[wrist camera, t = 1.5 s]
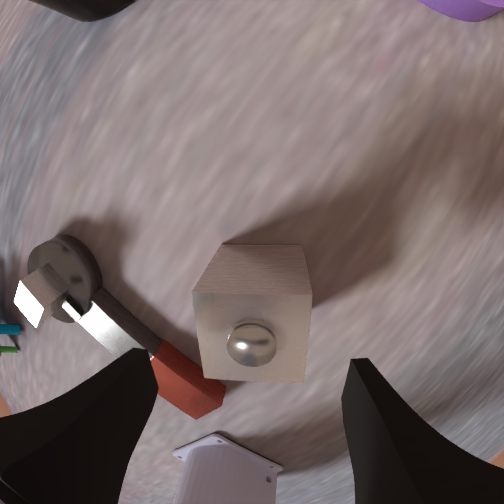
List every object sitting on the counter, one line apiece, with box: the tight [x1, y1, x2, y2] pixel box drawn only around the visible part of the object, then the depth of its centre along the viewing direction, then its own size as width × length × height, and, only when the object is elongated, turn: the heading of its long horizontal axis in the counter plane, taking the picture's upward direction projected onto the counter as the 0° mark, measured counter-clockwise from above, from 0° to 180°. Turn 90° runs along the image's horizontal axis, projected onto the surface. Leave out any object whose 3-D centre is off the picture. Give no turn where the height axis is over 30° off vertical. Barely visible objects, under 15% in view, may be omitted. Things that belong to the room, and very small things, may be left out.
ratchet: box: [14, 235, 226, 420], centre depth 17 cm, size 18×6×5 cm, turn 46°
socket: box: [192, 244, 313, 383], centre depth 14 cm, size 5×5×6 cm
